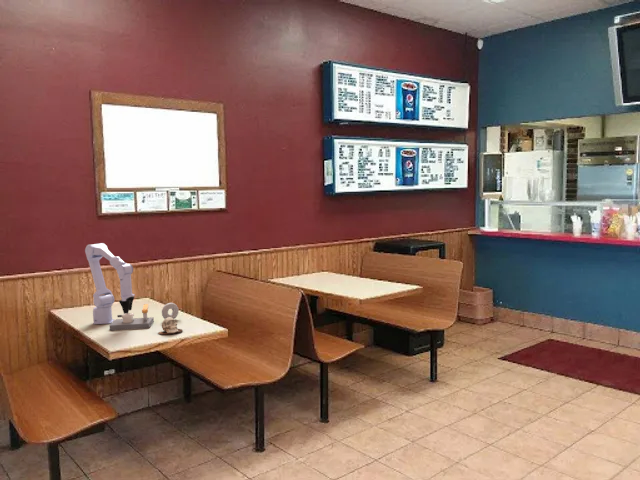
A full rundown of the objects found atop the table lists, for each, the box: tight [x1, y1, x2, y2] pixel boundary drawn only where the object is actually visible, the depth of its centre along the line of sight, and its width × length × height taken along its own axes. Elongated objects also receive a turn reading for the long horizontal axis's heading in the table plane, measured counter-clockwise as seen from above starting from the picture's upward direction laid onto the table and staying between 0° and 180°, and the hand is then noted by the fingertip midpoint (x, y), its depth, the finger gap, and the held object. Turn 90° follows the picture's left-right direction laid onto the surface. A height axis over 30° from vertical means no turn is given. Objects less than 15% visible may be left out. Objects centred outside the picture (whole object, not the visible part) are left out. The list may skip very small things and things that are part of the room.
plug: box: [116, 312, 135, 323], centre depth 295 cm, size 8×5×6 cm, turn 97°
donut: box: [161, 302, 180, 320], centre depth 305 cm, size 10×4×10 cm, turn 135°
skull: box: [158, 317, 183, 335], centre depth 280 cm, size 12×10×10 cm
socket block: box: [109, 312, 155, 331], centre depth 295 cm, size 20×14×7 cm
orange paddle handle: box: [141, 303, 149, 314], centre depth 302 cm, size 16×3×2 cm, turn 15°
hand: (127, 311), depth 294 cm, fingers open, 7 cm apart
